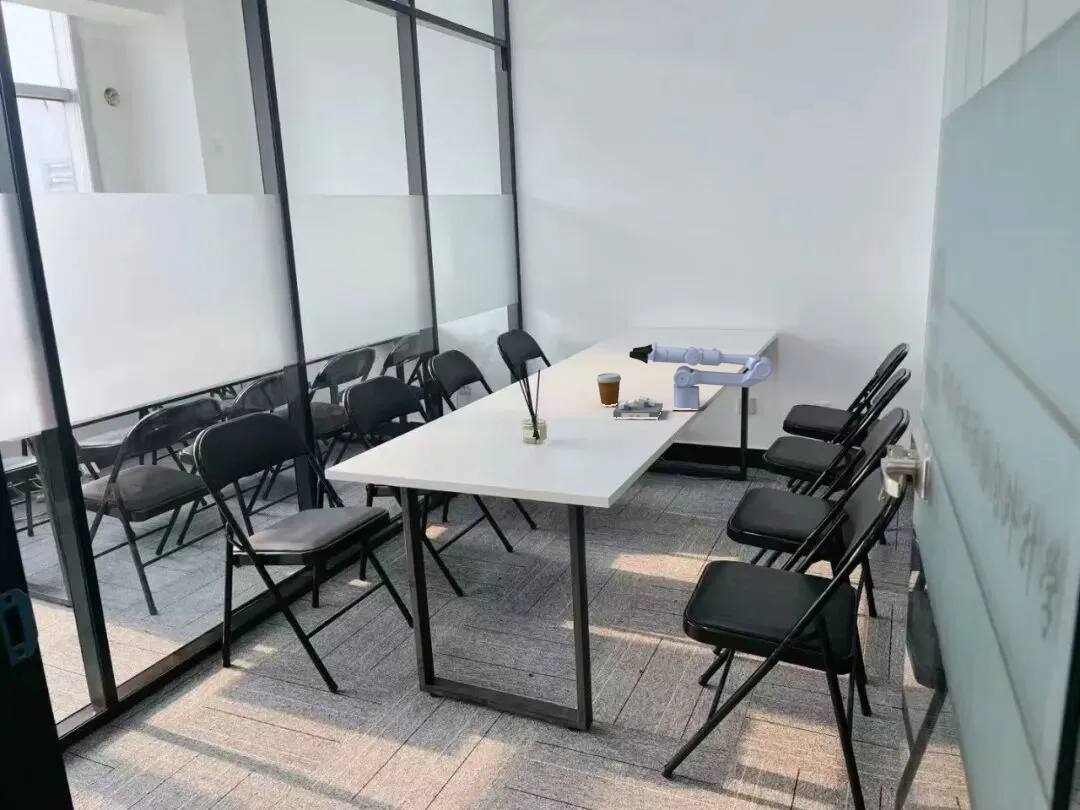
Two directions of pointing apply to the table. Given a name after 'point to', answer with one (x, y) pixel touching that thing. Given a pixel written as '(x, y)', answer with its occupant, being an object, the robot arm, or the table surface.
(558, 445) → the table surface
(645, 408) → the console
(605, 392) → the disposable coffee cup
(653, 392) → the table surface
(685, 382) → the robot arm
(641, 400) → the rocker
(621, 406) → the rocker
